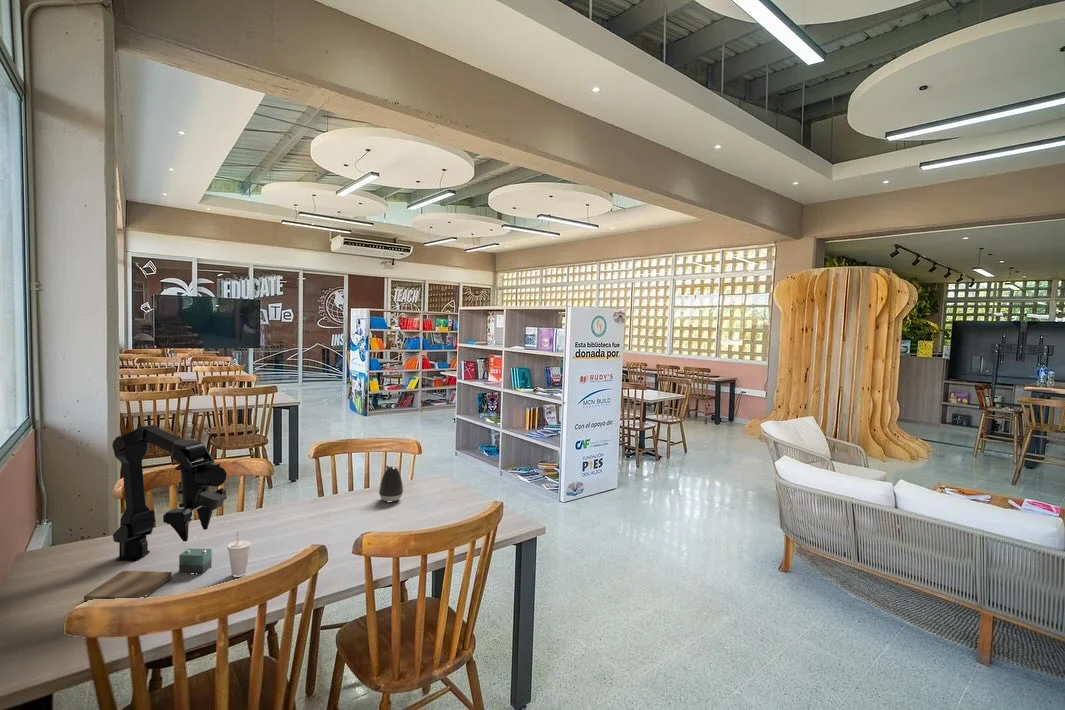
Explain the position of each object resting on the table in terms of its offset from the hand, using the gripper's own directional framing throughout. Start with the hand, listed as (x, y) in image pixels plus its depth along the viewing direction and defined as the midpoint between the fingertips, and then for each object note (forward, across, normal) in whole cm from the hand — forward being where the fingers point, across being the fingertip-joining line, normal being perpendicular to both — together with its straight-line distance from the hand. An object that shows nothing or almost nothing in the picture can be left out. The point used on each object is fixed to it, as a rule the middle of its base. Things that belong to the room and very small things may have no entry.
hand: (195, 535), depth 156 cm
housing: (+12, +1, +2) cm, 12 cm away
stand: (+11, -11, +12) cm, 20 cm away
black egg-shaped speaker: (+13, +70, -39) cm, 81 cm away
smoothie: (+13, 0, -12) cm, 18 cm away
